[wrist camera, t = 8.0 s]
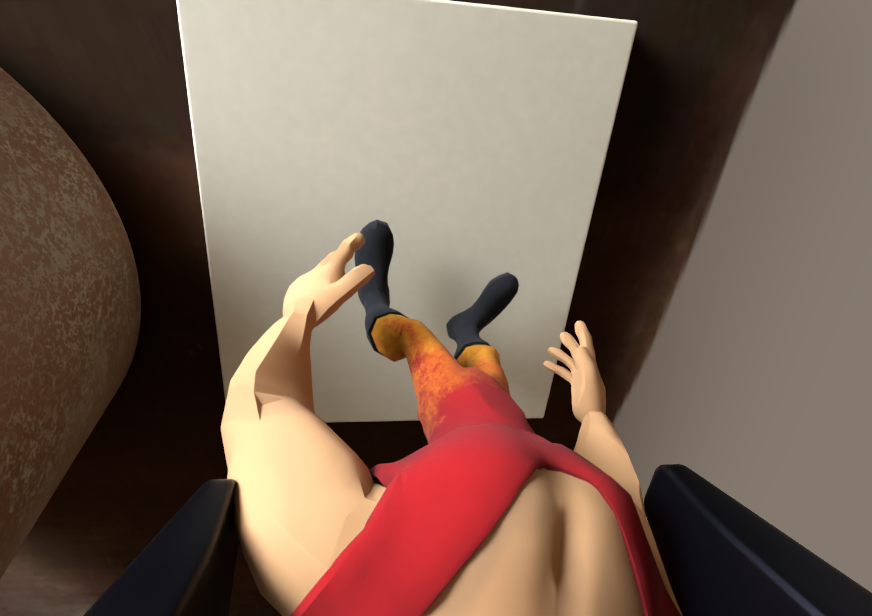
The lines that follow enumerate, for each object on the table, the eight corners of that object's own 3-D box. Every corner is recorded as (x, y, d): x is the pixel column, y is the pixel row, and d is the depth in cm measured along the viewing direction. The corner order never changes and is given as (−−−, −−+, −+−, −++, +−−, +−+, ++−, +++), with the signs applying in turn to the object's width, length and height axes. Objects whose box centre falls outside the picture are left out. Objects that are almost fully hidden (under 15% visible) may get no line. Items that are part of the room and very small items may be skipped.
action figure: (583, 286, 17) (1287, 1101, 4) (527, 371, 19) (940, 1183, 6) (301, 166, 14) (-149, 1777, 1) (259, 279, 16) (-165, 1611, 3)
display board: (623, 20, 15) (639, 21, 15) (536, 402, 22) (544, 418, 21) (183, -28, 14) (171, -30, 13) (233, 407, 20) (227, 425, 19)
